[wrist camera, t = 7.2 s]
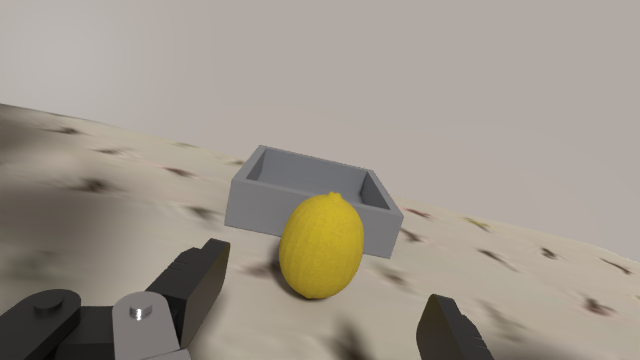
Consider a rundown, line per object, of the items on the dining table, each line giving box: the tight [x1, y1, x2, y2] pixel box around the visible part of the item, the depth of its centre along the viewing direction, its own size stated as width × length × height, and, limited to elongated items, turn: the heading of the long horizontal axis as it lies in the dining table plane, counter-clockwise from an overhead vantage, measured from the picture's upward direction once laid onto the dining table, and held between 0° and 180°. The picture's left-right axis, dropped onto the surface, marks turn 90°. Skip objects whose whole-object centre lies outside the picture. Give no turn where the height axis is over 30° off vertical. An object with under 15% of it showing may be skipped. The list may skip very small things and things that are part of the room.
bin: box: [224, 145, 404, 259], centre depth 37 cm, size 16×16×4 cm
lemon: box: [279, 192, 364, 298], centre depth 22 cm, size 6×6×8 cm
